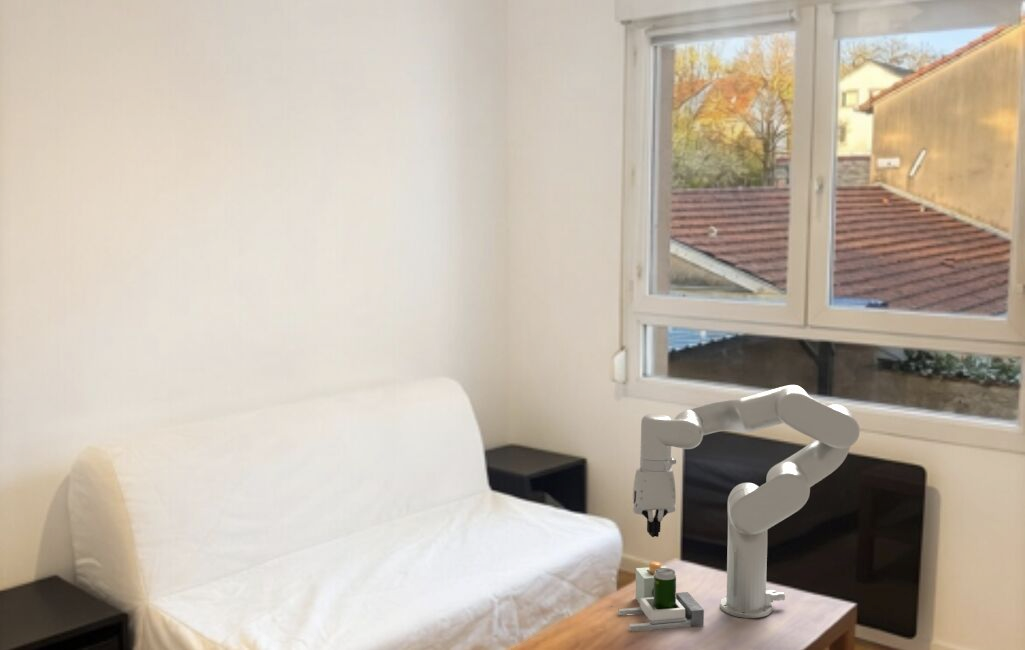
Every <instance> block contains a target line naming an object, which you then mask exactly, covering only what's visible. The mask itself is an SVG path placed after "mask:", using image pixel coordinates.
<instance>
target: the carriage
mask: <svg viewBox="0 0 1025 650" xmlns="http://www.w3.org/2000/svg"><path fill="white" fill-rule="evenodd" d="M638 608H641V609H642V611H643V612H644V613H645V614H644V615H645V616H646V617H647V619H648V620H649V621H650V623H652V624H658V623H669V622H681V621H687V619H686V618H685V608H684V607H683V606H682V605H681V604H680V602H679V601H678V600H677V599H676V608H672V609H660V610H654V609H653V608H654V597H647V598H640V603H639V604H638Z"/></svg>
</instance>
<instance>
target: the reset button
mask: <svg viewBox="0 0 1025 650" xmlns="http://www.w3.org/2000/svg"><path fill="white" fill-rule="evenodd" d="M661 566H662V563H661V562H659V561H651V562H649V564H648V567H649V574H651V575H654V573H655V570H656V569H659V568H661Z"/></svg>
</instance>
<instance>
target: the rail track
mask: <svg viewBox="0 0 1025 650" xmlns="http://www.w3.org/2000/svg"><path fill="white" fill-rule="evenodd" d="M676 599H677V600H678V601H679V602H680V604H681V605H682V606H683V607H684V608H685V618H686V619H687V621H681V622H669V623H658V624H652V623H651V622H645V623H644V622H643V623H631V624H629V627H628V630H629V629H630V630H629V631H630V632H631V631H632V632H640V631H639V630H643V631H652V630H653V629H654V630H664V628H665V629H675V628H674V627H676V628H684V627H685V628H687V627H688V628H689V627H691V628H694V627H704V625H705V618H704V617H705V610H704V608H703V607H702V606H701V605H700V604H699V602H698V601H696V600H695V598H693V596H692V595H691V594H690V593H689V592H688V591H685V592H676ZM653 609H654V608H653ZM627 614H637V615H645V613H644V612H643V611H642V609H641V608H640V607H632V608H631V607H630V608H619V609H618V615H619V616H620V615H625V616H628V615H627ZM651 629H652V630H651ZM637 630H638V631H637Z"/></svg>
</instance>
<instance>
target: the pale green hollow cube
mask: <svg viewBox="0 0 1025 650" xmlns="http://www.w3.org/2000/svg"><path fill="white" fill-rule="evenodd" d="M661 568H668V567H667V566H666V565H661ZM647 597H654V575H651V574H649V566H648V567H647V566H646V567H636V568H635V599H636V600H638V601H639V602H638V601H637V602H638V603H639V604H640V598H647Z"/></svg>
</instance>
